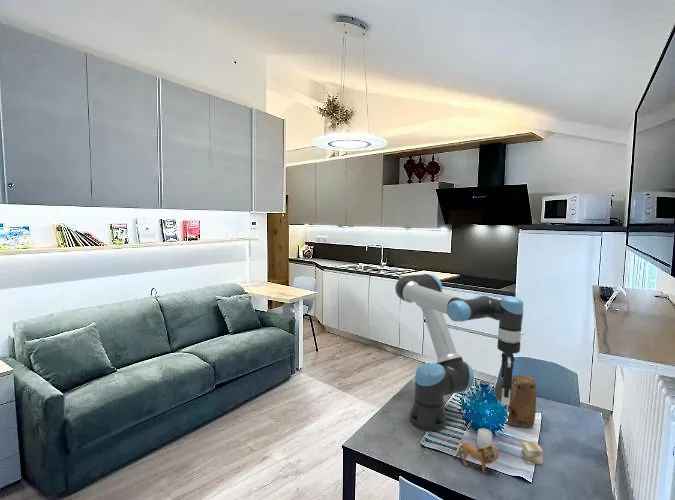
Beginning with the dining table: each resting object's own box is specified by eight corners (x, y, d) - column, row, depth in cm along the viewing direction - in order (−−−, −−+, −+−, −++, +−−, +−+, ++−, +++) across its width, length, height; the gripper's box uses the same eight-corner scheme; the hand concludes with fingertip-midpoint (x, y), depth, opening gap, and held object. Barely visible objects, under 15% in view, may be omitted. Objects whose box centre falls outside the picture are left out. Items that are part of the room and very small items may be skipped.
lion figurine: (497, 467, 131) (499, 443, 130) (497, 477, 126) (498, 452, 125) (454, 455, 137) (455, 431, 136) (451, 463, 132) (453, 439, 131)
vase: (515, 406, 135) (517, 383, 134) (494, 403, 138) (496, 380, 137) (513, 397, 142) (515, 375, 141) (493, 394, 144) (495, 372, 143)
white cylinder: (476, 449, 140) (477, 434, 140) (476, 441, 145) (477, 427, 144) (491, 452, 139) (492, 437, 138) (490, 444, 143) (492, 430, 143)
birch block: (527, 463, 133) (528, 450, 133) (521, 454, 138) (522, 441, 138) (542, 464, 133) (543, 451, 132) (536, 455, 138) (537, 442, 137)
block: (528, 419, 162) (532, 375, 160) (535, 429, 154) (539, 382, 152) (502, 417, 163) (505, 373, 161) (508, 427, 156) (511, 380, 153)
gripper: (523, 350, 127) (518, 415, 129) (517, 333, 145) (513, 390, 148) (499, 347, 129) (494, 410, 132) (496, 330, 148) (492, 386, 150)
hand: (504, 399), depth 140 cm, fingers closed on vase, 7 cm apart
